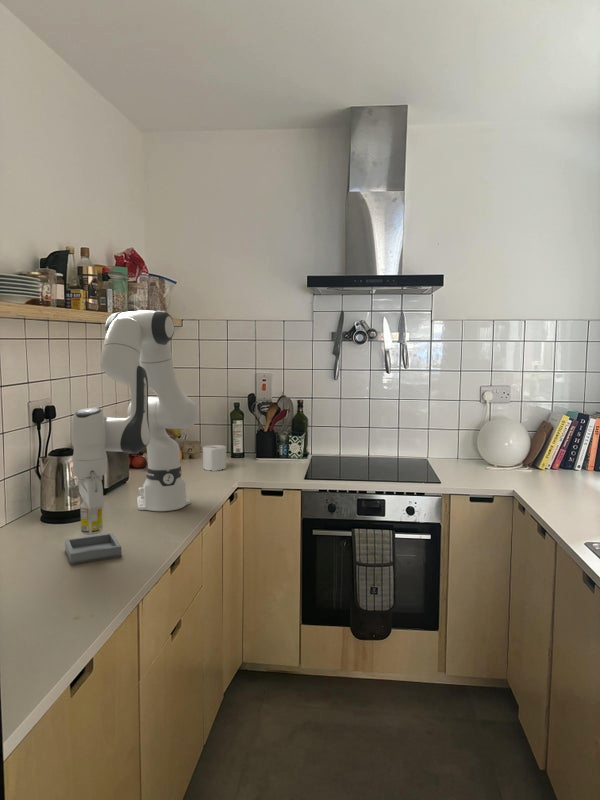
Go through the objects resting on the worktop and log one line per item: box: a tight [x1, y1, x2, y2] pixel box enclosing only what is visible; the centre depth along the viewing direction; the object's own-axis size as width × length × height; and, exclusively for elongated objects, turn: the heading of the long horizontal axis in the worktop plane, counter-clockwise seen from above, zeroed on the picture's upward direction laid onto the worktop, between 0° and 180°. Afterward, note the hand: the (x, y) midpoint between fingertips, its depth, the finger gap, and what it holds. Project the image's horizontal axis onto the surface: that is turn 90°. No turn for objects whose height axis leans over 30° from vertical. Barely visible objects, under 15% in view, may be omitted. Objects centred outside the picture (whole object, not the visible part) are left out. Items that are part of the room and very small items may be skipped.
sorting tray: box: [64, 532, 123, 566], centre depth 167 cm, size 13×13×3 cm
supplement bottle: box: [79, 496, 103, 536], centre depth 166 cm, size 6×6×10 cm
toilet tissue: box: [202, 444, 227, 472], centre depth 277 cm, size 11×12×10 cm
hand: (91, 517), depth 166 cm, fingers closed on supplement bottle, 5 cm apart
